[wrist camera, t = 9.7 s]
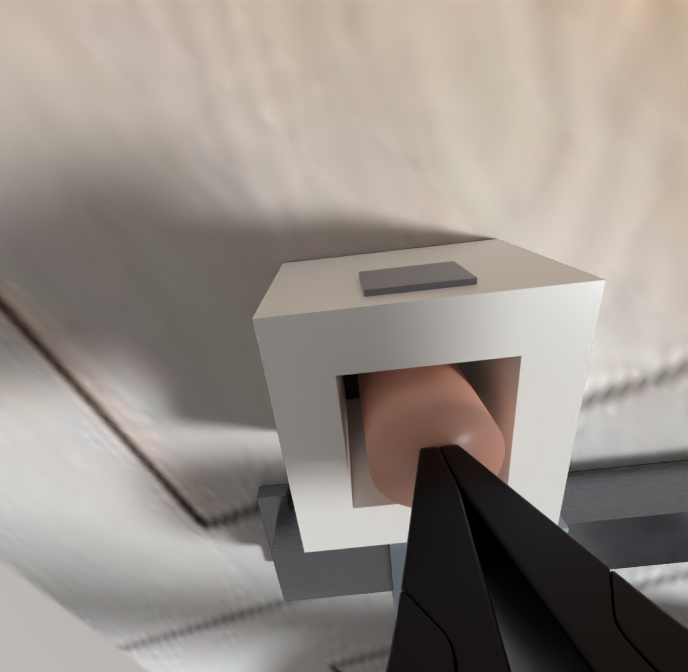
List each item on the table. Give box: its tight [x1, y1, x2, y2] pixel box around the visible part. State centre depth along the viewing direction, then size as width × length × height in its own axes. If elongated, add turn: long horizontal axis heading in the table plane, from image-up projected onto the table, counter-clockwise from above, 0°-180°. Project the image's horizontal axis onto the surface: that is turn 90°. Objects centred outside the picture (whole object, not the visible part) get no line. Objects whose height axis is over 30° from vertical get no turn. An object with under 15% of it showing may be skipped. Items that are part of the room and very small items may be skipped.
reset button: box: [358, 363, 505, 508], centre depth 10 cm, size 3×3×4 cm
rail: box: [257, 460, 688, 601], centre depth 15 cm, size 5×26×2 cm, turn 96°
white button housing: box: [252, 239, 605, 552], centre depth 11 cm, size 7×7×5 cm
